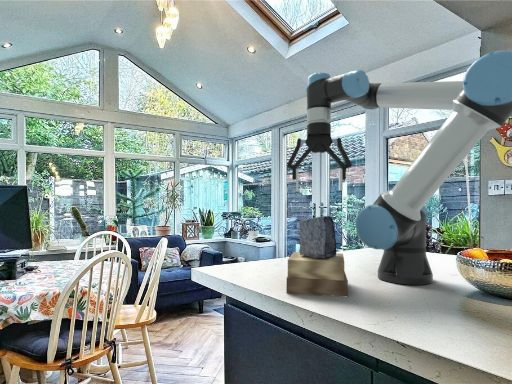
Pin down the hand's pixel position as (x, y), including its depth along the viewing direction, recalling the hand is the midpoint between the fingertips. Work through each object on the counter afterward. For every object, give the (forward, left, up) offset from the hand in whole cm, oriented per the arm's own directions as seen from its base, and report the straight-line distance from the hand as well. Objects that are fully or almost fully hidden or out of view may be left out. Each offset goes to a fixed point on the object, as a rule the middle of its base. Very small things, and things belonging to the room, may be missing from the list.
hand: (318, 190), depth 110 cm
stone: (0, +16, -19) cm, 25 cm away
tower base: (0, +16, -27) cm, 32 cm away
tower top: (0, +16, -23) cm, 28 cm away
